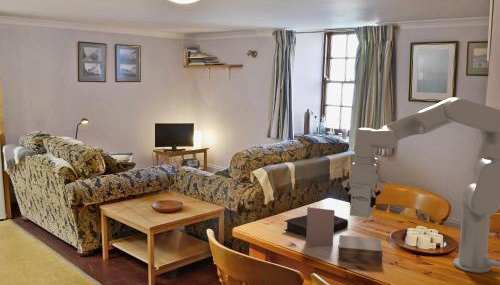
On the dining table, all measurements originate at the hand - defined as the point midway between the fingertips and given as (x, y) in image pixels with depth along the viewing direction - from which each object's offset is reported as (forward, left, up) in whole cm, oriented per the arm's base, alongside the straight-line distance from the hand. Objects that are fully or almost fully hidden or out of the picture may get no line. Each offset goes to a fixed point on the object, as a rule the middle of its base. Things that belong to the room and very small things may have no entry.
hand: (361, 205), depth 184 cm
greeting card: (+18, -4, -21) cm, 28 cm away
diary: (+25, -24, -21) cm, 41 cm away
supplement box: (0, 0, -4) cm, 4 cm away
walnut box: (0, 0, -21) cm, 21 cm away
